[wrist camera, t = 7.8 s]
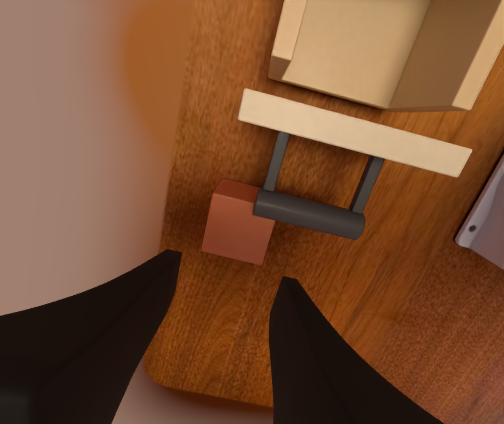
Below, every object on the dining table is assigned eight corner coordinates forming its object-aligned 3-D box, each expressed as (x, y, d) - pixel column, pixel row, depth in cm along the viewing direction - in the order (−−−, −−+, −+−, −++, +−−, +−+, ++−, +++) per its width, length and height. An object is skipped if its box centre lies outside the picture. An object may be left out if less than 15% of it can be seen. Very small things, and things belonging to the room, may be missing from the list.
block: (261, 238, 21) (261, 265, 17) (211, 226, 20) (200, 251, 17) (275, 190, 19) (278, 209, 16) (222, 177, 19) (212, 192, 15)
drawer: (358, 220, 19) (407, 274, 13) (230, 189, 18) (213, 227, 12) (502, -121, 13) (745, -360, 6) (314, -183, 12) (372, -508, 6)
